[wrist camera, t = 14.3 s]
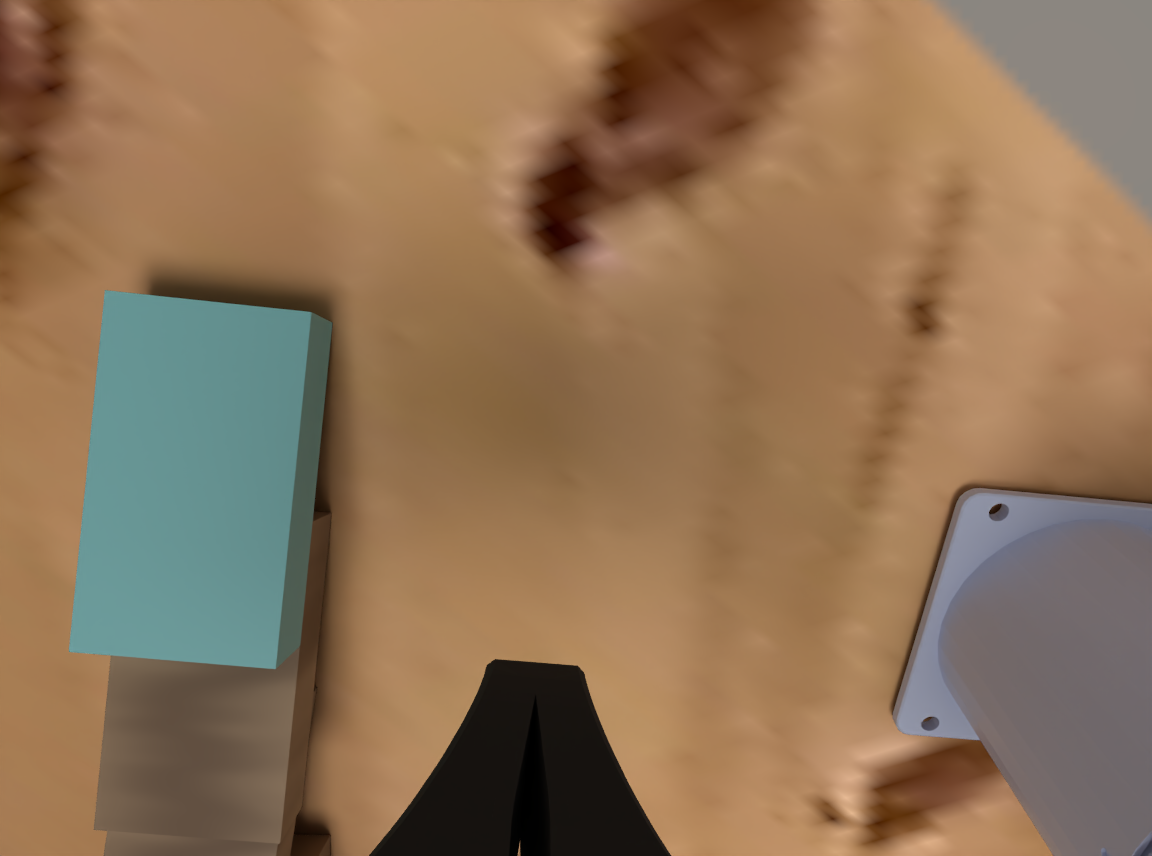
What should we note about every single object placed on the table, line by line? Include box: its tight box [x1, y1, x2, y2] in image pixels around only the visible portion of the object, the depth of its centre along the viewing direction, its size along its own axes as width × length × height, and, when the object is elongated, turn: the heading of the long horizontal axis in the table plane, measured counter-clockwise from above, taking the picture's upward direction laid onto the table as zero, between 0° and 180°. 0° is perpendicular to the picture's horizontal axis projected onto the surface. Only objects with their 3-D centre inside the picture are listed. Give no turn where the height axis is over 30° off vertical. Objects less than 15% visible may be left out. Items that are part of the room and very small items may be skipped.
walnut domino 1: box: [94, 511, 332, 844], centre depth 22 cm, size 4×2×8 cm
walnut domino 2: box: [104, 687, 317, 856], centre depth 24 cm, size 4×2×8 cm
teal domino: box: [69, 290, 332, 669], centre depth 20 cm, size 4×2×8 cm
